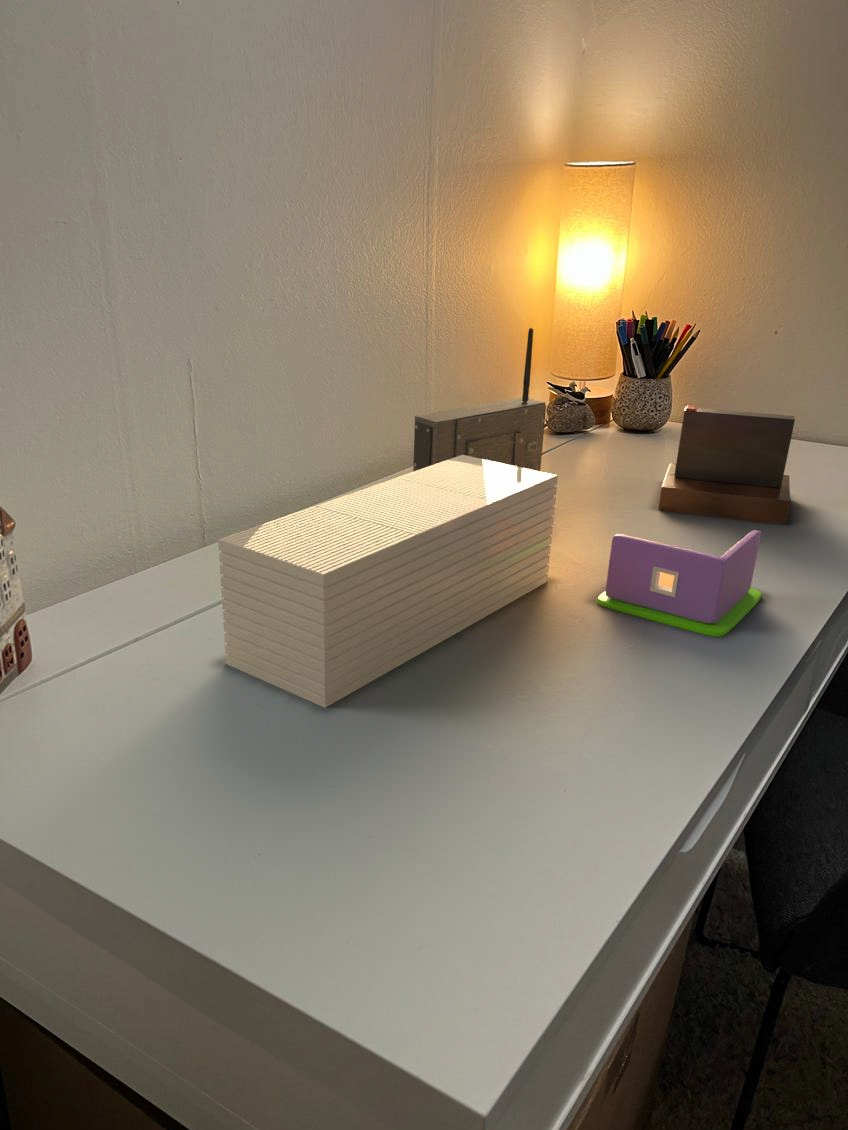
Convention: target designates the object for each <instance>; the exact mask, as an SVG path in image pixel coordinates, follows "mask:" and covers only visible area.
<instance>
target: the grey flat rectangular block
mask: <svg viewBox="0 0 848 1130" xmlns="http://www.w3.org/2000/svg"><path fill="white" fill-rule="evenodd" d="M795 422H796V419H795V415H789V414H775V413H763V412H750V411H739V410H728V409H727V410H726V409H715V408H714V409H713V408H702V407H697V405H687V406H685V408H684V410H683V417H682V424H681V430H680V437H679V441H678V450H677V456H676V462H675V464H676V468H675V474H674V477H677V478H687V479H697V480H707V481H717V482H726V483H736V484H746V485H756V486H766V487H775V488H781V485H782V481H783V476H784V475H785V470H786V465H787V460H788V455H789V450H790V447H791V446H790V445H791V441H792V437H793V431H794V426H795Z"/></svg>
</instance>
